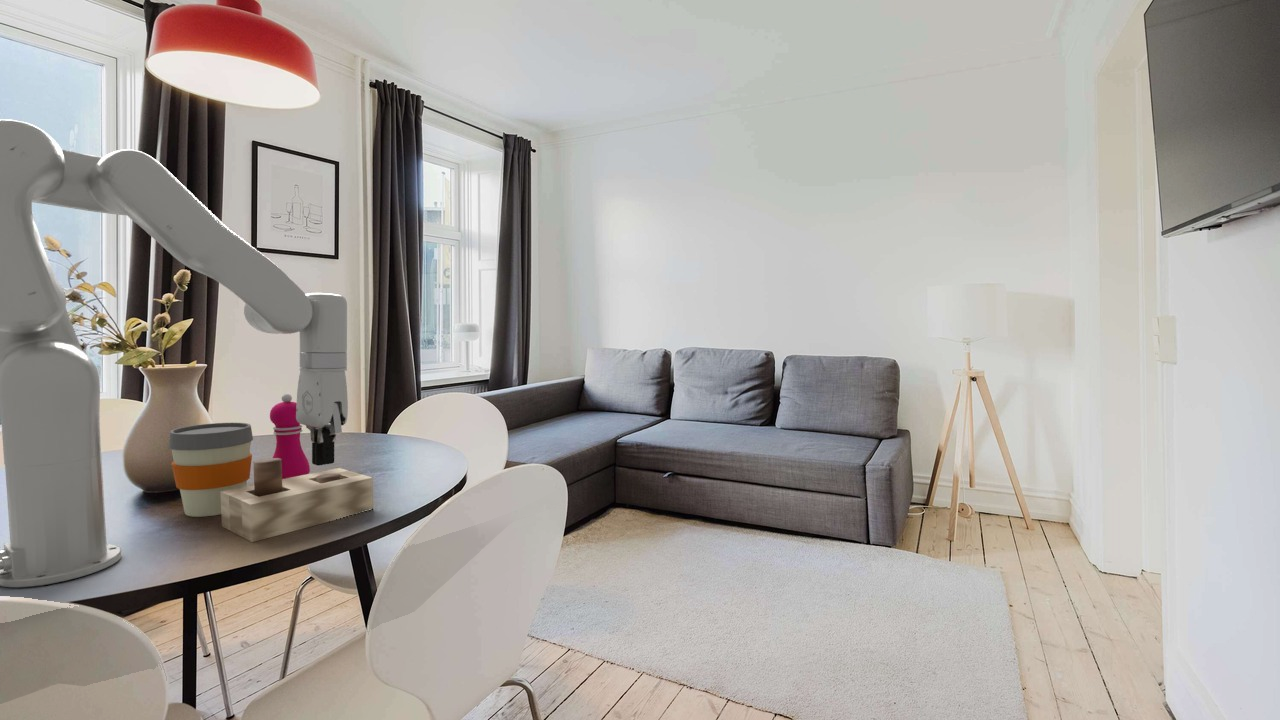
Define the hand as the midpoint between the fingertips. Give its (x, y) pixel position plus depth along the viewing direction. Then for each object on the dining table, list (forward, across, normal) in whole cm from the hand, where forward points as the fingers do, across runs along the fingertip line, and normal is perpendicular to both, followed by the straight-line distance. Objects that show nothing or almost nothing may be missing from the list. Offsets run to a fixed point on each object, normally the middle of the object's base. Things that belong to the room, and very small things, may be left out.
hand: (323, 463), depth 108 cm
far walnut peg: (+8, 0, +1) cm, 9 cm away
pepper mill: (+9, -18, +2) cm, 20 cm away
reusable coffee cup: (+10, -18, -11) cm, 23 cm away
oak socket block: (+9, 0, -4) cm, 10 cm away
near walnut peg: (+4, 0, -9) cm, 10 cm away
